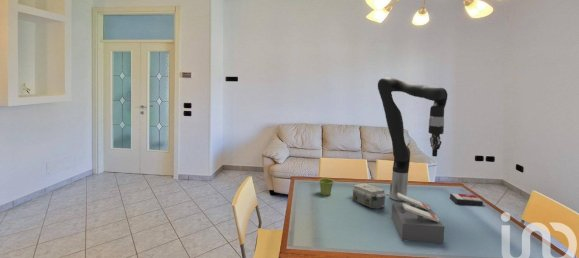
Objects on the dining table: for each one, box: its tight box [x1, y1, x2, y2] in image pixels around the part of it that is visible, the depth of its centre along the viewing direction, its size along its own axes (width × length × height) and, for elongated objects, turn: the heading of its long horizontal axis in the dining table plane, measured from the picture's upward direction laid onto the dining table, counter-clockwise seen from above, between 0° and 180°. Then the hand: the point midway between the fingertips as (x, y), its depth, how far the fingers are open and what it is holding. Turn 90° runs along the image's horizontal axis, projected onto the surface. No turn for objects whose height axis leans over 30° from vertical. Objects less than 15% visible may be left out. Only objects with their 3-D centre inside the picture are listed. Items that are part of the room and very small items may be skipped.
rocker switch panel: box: [390, 201, 446, 244], centre depth 167 cm, size 28×18×10 cm, turn 173°
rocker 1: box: [397, 193, 431, 211], centre depth 174 cm, size 6×16×1 cm, turn 83°
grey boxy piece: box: [349, 183, 390, 209], centre depth 201 cm, size 12×28×10 cm, turn 25°
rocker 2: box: [402, 202, 441, 222], centre depth 159 cm, size 6×16×1 cm, turn 83°
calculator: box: [449, 192, 484, 207], centre depth 208 cm, size 11×4×15 cm
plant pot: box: [318, 178, 334, 196], centre depth 216 cm, size 9×9×9 cm
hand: (434, 156), depth 188 cm, fingers closed
